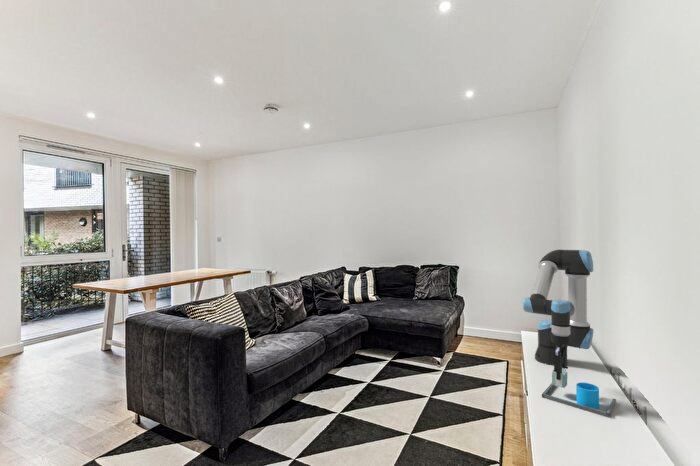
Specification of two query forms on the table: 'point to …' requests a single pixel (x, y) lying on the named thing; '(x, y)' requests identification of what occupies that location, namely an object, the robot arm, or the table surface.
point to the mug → (588, 395)
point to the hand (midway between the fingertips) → (560, 384)
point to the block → (563, 378)
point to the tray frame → (606, 414)
